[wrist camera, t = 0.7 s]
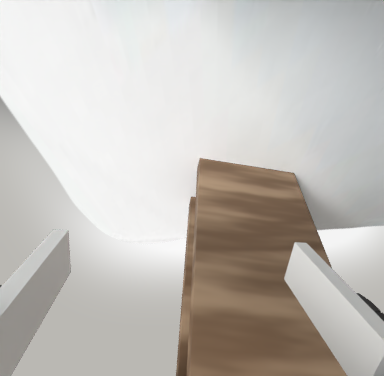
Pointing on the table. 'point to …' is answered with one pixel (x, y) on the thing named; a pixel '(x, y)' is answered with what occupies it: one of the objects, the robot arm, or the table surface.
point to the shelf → (247, 278)
